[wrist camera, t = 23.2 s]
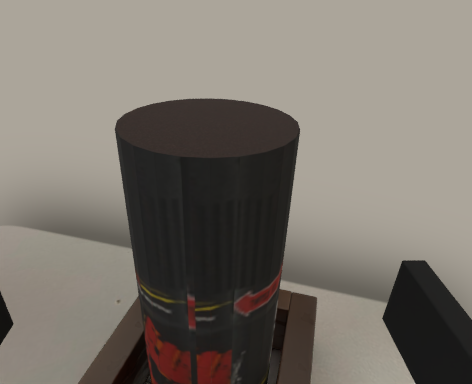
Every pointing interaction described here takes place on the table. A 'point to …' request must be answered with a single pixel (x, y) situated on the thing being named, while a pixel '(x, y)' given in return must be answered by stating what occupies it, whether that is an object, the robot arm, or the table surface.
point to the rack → (285, 338)
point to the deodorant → (208, 233)
